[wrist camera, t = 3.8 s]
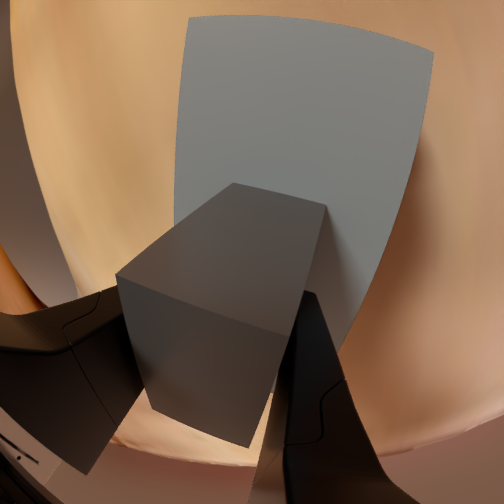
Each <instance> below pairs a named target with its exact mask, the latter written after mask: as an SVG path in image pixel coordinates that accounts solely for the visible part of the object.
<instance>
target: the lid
mask: <svg viewBox="0 0 504 504" xmlns="http://www.w3.org/2000/svg"><path fill="white" fill-rule="evenodd" d="M433 56H434V52H432V51H430V50H427V49H425V48H422V47H419V46H417V45H414V44H411V43H408V42H405V41H402V40H399V39H396V38H392V37H389V36H386V35H382V34H379V33H375V32H371V31H367V30H363V29H359V28H354V27H350V26H345V25H340V24H334V23H328V22H322V21H316V20H308V19H300V18H290V17H278V16H259V15H222V16H203V17H191V18H189V20H188V27H187V33H186V40H185V48H184V56H183V64H182V73H181V82H180V93H179V104H178V117H177V133H176V151H175V180H174V227H173V228H171V229H170V230H169V231H167V232H166V233H165V234H164V235H162V236H161V237H160V238H159V239H157V240H156V241H155V242H154V243H152V244H151V245H150V246H149V247H147V248H146V249H145V250H144V251H143V252H141V253H140V254H139V255H138V256H136V257H135V258H134V259H133V260H132V261H130V262H129V263H128V264H127V265H126V266H124V267H123V268H122V269H121V270H120V271H119V272H117V273H116V274H115V275H116V281H117V286H118V291H119V296H120V300H121V305H122V309H123V314H124V318H125V322H126V326H127V330H128V334H129V338H130V341H131V345H132V349H133V352H134V356H135V359H136V362H137V366H138V369H139V372H140V375H141V378H142V381H143V384H144V387H145V390H146V393H147V396H148V399H149V402H150V405H151V407H152V409H153V410H155V411H157V412H159V413H161V414H164V415H166V416H168V417H170V418H172V419H174V420H176V421H178V422H181V423H183V424H185V425H187V426H190V427H192V428H194V429H197V430H199V431H202V432H204V433H207V434H209V435H212V436H214V437H217V438H220V439H222V440H225V441H228V442H231V443H234V444H236V445H239V446H242V447H245V448H249V446H250V444H251V441H252V439H253V436H254V434H255V431H256V429H257V426H258V424H259V421H260V419H261V416H262V413H263V411H264V408H265V405H266V403H267V400H268V397H269V395H270V392H271V393H274V389H275V384H276V379H277V374H278V370H279V367H280V364H281V361H282V358H283V355H284V352H285V349H286V346H287V343H288V340H289V337H290V334H291V331H292V328H293V324H294V321H295V318H296V315H297V311H298V308H299V305H300V301H301V298H302V294H303V291H304V290H307V291H310V292H314V293H315V294H316V295H317V298H318V301H319V303H320V306H321V309H322V312H323V315H324V317H325V320H326V323H327V326H328V329H329V331H330V334H331V337H332V340H333V343H334V346H335V349H336V352H337V353H338V351H339V349H340V347H341V345H342V343H343V341H344V340H345V338H346V336H347V334H348V332H349V330H350V328H351V325H352V323H353V321H354V319H355V317H356V315H357V313H358V311H359V309H360V307H361V304H362V302H363V300H364V298H365V295H366V293H367V291H368V289H369V286H370V284H371V282H372V279H373V277H374V275H375V272H376V270H377V267H378V265H379V262H380V260H381V257H382V255H383V252H384V250H385V247H386V244H387V242H388V239H389V236H390V234H391V231H392V228H393V225H394V222H395V219H396V216H397V213H398V210H399V207H400V204H401V201H402V198H403V195H404V192H405V188H406V185H407V182H408V178H409V175H410V171H411V168H412V164H413V160H414V157H415V153H416V149H417V145H418V141H419V136H420V132H421V127H422V123H423V118H424V113H425V108H426V103H427V97H428V92H429V86H430V79H431V72H432V65H433Z"/></svg>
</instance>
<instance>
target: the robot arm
mask: <svg viewBox="0 0 504 504" xmlns="http://www.w3.org/2000/svg"><path fill="white" fill-rule="evenodd" d="M344 379H345V376H344V373H343V370H342V367H341V364H340V361H339V358H338V355H337V352H336V349H335V346H334V343H333V340H332V337H331V334H330V331H329V329H328V326H327V323H326V320H325V317H324V315H323V312H322V309H321V306H320V303H319V301H318V298H317V295H316V294H315V293H314V292H310V291H307V290H304V291H303V294H302V298H301V301H300V305H299V308H298V311H297V315H296V318H295V321H294V324H293V328H292V331H291V334H290V337H289V340H288V343H287V346H286V349H285V352H284V355H283V358H282V361H281V364H280V367H279V370H278V374H277V379H276V384H275V389H274V394H273V399H272V403H271V408H270V413H269V417H268V422H267V426H266V431H265V435H264V439H263V444H262V448H261V452H260V456H259V460H258V464H257V469H256V473H255V476H254V480H253V484H252V488H251V492H250V496H249V499H248V503H247V504H420V503H419V502H418V501H416V500H415V499H413V498H412V497H411V496H409V495H408V494H407V493H406V492H404V491H403V490H402V489H400V488H399V487H397V485H395V484H394V483H393V482H392V481H391V480H390V479H389V477H388V476H387V475H386V473H385V472H384V470H383V468H382V466H381V464H380V462H379V460H378V458H377V455H376V453H375V451H374V449H373V446H372V444H371V442H370V440H369V438H368V435H367V433H366V431H365V429H364V427H363V424H362V422H361V420H360V417H359V415H358V413H357V410H356V408H355V405H354V402H353V400H352V397H351V394H350V391H349V388H348V385H347V382H346V380H344ZM143 389H144V384H143V381H142V378H141V375H140V372H139V369H138V366H137V362H136V359H135V356H134V352H133V349H132V345H131V341H130V338H129V334H128V330H127V326H126V322H125V318H124V314H123V309H122V305H121V300H120V296H119V291H118V286H117V285H116V286H113V287H110V288H108V289H105V290H102V291H101V292H100V291H99V292H96V293H94V294H91V295H88V296H85V297H82V298H79V299H77V300H73V301H70V302H67V303H63V304H60V305H57V306H53V307H49V308H46V309H42V310H38V311H35V312H31V313H28V314H23V315H10V314H5V313H2V312H0V504H64V503H62V502H61V501H60V500H59V499H58V498H56V497H55V496H54V495H53V494H52V493H50V492H49V491H48V490H47V489H46V488H45V487H44V485H45V484H46V482H47V481H48V480H49V478H50V477H51V475H52V474H53V473H54V471H55V470H56V468H57V467H58V466H59V464H60V463H61V461H62V460H64V461H65V462H66V463H68V464H69V465H71V466H72V467H74V468H75V469H77V470H78V471H80V472H81V473H83V474H85V475H87V474H88V473H89V471H90V470H91V468H92V467H93V465H94V464H95V462H96V461H97V459H98V457H99V456H100V455H101V453H102V451H103V450H104V448H105V447H106V445H107V444H108V442H109V441H110V439H111V438H112V436H113V435H114V433H115V432H116V430H117V428H118V427H119V425H120V424H121V422H122V421H123V419H124V418H125V416H126V415H127V413H128V412H129V410H130V408H131V407H132V405H133V404H134V402H135V401H136V399H137V398H138V396H139V395H140V393H141V392H142V390H143Z"/></svg>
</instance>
